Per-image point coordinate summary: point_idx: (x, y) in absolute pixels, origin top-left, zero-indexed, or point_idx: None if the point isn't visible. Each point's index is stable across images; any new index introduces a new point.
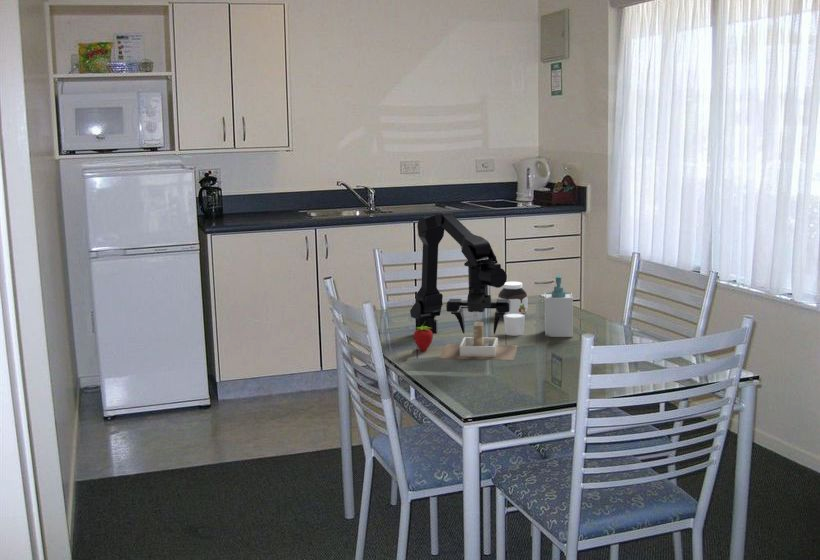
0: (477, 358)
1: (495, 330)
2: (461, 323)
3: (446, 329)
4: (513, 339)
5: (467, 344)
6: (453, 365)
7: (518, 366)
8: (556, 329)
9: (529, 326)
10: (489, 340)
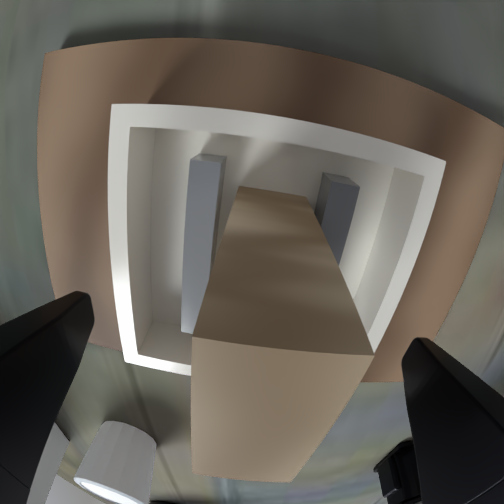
0: (283, 63)
1: (50, 304)
2: (494, 405)
3: (338, 482)
4: (121, 416)
5: None
6: (434, 31)
7: (47, 9)
8: None
9: None
10: (181, 350)
